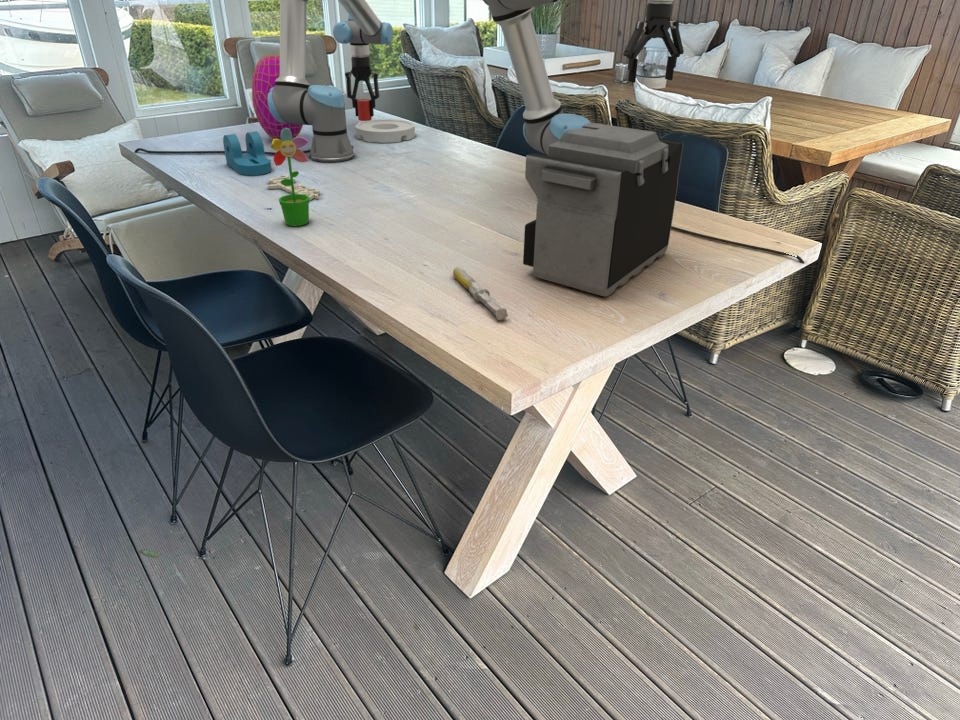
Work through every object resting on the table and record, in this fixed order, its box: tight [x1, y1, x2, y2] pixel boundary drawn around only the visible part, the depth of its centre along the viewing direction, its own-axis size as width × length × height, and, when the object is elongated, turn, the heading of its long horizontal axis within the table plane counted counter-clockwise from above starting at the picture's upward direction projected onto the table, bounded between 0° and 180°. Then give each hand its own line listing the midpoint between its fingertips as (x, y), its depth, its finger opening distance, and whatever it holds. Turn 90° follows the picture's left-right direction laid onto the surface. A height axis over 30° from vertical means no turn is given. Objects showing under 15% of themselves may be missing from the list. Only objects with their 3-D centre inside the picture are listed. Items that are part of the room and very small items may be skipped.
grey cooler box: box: [522, 122, 685, 297], centre depth 153 cm, size 37×22×30 cm, turn 144°
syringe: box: [452, 266, 509, 321], centre depth 145 cm, size 25×4×3 cm, turn 21°
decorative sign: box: [267, 174, 321, 201], centre depth 209 cm, size 26×1×10 cm
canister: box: [357, 98, 373, 122], centre depth 288 cm, size 6×6×8 cm
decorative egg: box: [251, 54, 304, 141], centre depth 257 cm, size 19×19×30 cm
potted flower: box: [270, 128, 310, 227], centre depth 177 cm, size 9×8×25 cm
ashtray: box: [355, 118, 416, 144], centre depth 271 cm, size 23×23×4 cm
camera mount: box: [222, 131, 272, 176], centre depth 226 cm, size 18×10×10 cm, turn 35°
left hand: (364, 115), depth 289 cm, fingers closed on canister, 6 cm apart
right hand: (650, 80), depth 210 cm, fingers open, 13 cm apart
